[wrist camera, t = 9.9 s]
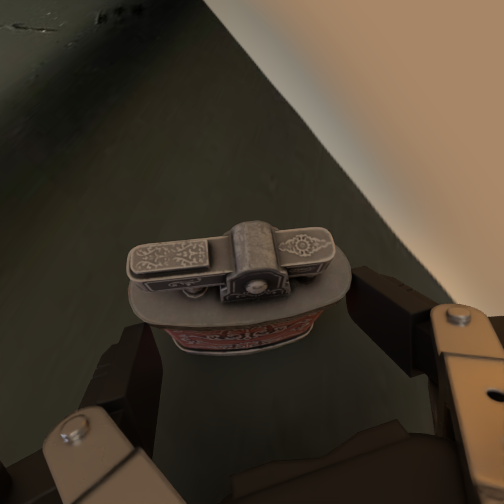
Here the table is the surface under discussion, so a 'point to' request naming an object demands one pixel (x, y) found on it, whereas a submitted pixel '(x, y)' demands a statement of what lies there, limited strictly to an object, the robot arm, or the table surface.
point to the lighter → (238, 287)
